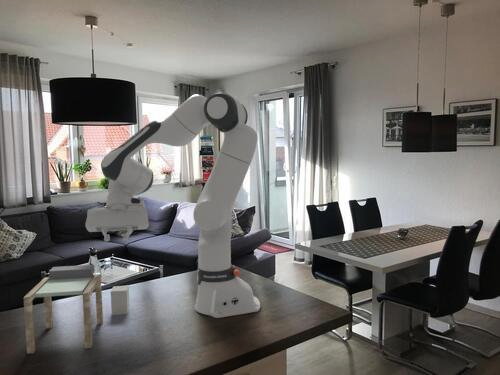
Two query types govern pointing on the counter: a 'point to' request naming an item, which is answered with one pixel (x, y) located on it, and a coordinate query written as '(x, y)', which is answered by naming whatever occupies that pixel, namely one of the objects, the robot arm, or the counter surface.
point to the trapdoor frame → (49, 317)
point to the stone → (120, 300)
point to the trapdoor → (67, 281)
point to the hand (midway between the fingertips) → (116, 239)
